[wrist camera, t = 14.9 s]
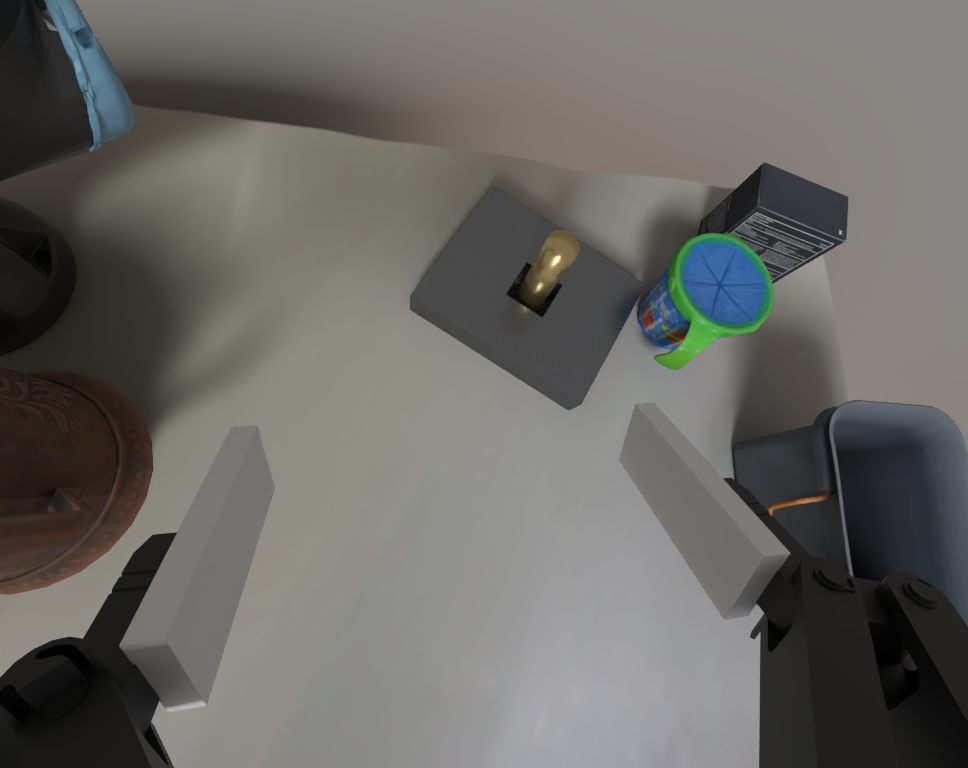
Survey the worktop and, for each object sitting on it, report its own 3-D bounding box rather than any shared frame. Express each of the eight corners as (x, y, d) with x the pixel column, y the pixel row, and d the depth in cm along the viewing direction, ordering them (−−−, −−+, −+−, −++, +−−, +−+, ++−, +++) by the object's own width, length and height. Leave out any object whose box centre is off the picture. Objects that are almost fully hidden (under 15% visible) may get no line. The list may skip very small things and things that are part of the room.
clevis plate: (410, 309, 45) (410, 295, 42) (486, 205, 50) (492, 184, 46) (568, 410, 46) (581, 404, 42) (629, 297, 50) (645, 284, 47)
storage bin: (839, 628, 45) (1026, 690, 32) (707, 631, 43) (847, 699, 29) (809, 429, 50) (959, 407, 37) (690, 421, 48) (803, 395, 34)
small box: (772, 246, 56) (852, 194, 46) (767, 289, 54) (849, 244, 44) (700, 217, 55) (765, 157, 45) (692, 260, 53) (758, 207, 43)
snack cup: (656, 248, 53) (713, 194, 43) (726, 297, 53) (798, 254, 43) (597, 345, 48) (645, 310, 38) (674, 398, 48) (741, 376, 38)
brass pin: (507, 306, 47) (539, 248, 36) (521, 286, 48) (556, 223, 37) (530, 321, 47) (569, 268, 36) (543, 300, 48) (585, 242, 37)
